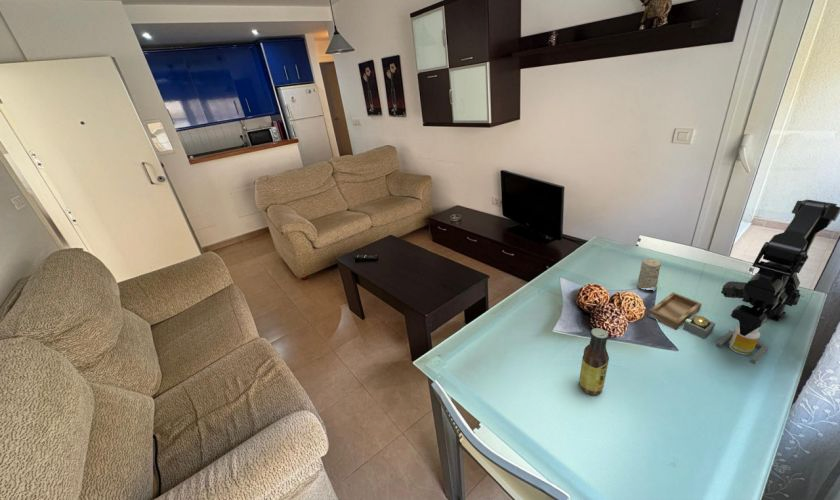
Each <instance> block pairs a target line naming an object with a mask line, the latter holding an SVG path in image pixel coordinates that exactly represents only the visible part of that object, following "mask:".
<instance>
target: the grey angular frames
mask: <svg viewBox="0 0 840 500" xmlns="http://www.w3.org/2000/svg"><path fill="white" fill-rule="evenodd" d="M695 316H698V315H697V314H694V315H692V316H691V317H690V318H689V319H686V321H685V323H684V324H683V327H682V329H683V330H685V331H687V332H688V333H691V334H693V335H695V336H697V337H700V338H702V339H706V338H707V337H708V336H709V335H710V334H711V333H712V332H713V331H714V329H715V326H716V323H715V322H714V321H711V320H709V319H708V324H707V327H706V329H704V328H701V327H699V326H697V325H695V324H692V323H693V320H694V317H695ZM733 333H734V331H733V330H731V329H729V330H728V331H727V332H726V333H725V334H724V335H723V336H722V337H721V338H719V340H718V341H717V342H716V344H715V347H716V348H719V349H721V348H722V347H723V346H724V345H725V344H726V343H727V342H728V341H730V340H731V337H732V335H733ZM755 348H756V349H758V350H757V351H756V352H755V353H754V354H753V356H751V358H750V360H749V362H750V363H751V364H754V365H756V364H757V362H759V360H760V359H761V358H762V357H763V355H764V354H766V352H767V351H768V349H769V348H770V346H769V345H766V344H764V343H761V342H759V341H757V343H756V346H755Z"/></svg>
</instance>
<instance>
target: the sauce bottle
mask: <svg viewBox="0 0 840 500" xmlns="http://www.w3.org/2000/svg"><path fill="white" fill-rule="evenodd" d="M608 339H609V333H608V331H606V330H605V329H602V328H599V327H597V328H596V327H595V328H592V329H591V331H590V341H589V344H588V345H586V346H584V347H585V348H584V350H583V355H582V360H581V364H580V365H581V366H580V371H579V373H580V374H579V383H578V384H579V387H580V389H581V390H582V391H583V392H584V393H585V394H588V395H592V396H596V395H600V394H601V393H602V392H603V389H604V387H605V386H604V385H605V382H606V376H607V372H608V366H609V360H610V356H609V354H608V350H607V341H608Z"/></svg>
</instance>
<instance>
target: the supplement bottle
mask: <svg viewBox="0 0 840 500" xmlns="http://www.w3.org/2000/svg"><path fill="white" fill-rule="evenodd" d="M760 328H761V327H759V328H757V329H755V330H754V331H752V332H751V333H749V334H747V335H746V336H743V335H741V334H740V325H736V327H735V329H734V333H733V335H732V337H731V338H730V339H729V342H728V347H729V348H730V350H732V351H733V352H735V353H736V354H740V355H746V356H749V355H752V353H753V352H754V350H755V348H756V347H755V346H756V343H757V342H759V338H760V337H761V333H760Z"/></svg>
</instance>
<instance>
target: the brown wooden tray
mask: <svg viewBox="0 0 840 500" xmlns="http://www.w3.org/2000/svg"><path fill="white" fill-rule="evenodd" d="M702 305H703V303H702V302H699V301H696V300H693V299H691V298H689V297H686V296H684V295H682V294H679V293H677V292H672V293H670V294H668V296H666V297H665V298H664V299H662V300H661V301H660V302H658V303H656V304H655V305H653V306H652V308H650V309H649V310H648V313H652V314H653V315H654V316H655V318H656V319H657V320H658V321H657V322H658V323H661V324H662V325H665V326H667V327H669V328H671V329H674V330H676V331H677V330H678V329H679V328H680V327H681V326H682V325H683V326H684V323H685V321H686V319H689V318H690V317H691V316H692V315H694V314H695V315H697V313H698V312H699V311H700V310H701V308H702Z"/></svg>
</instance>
